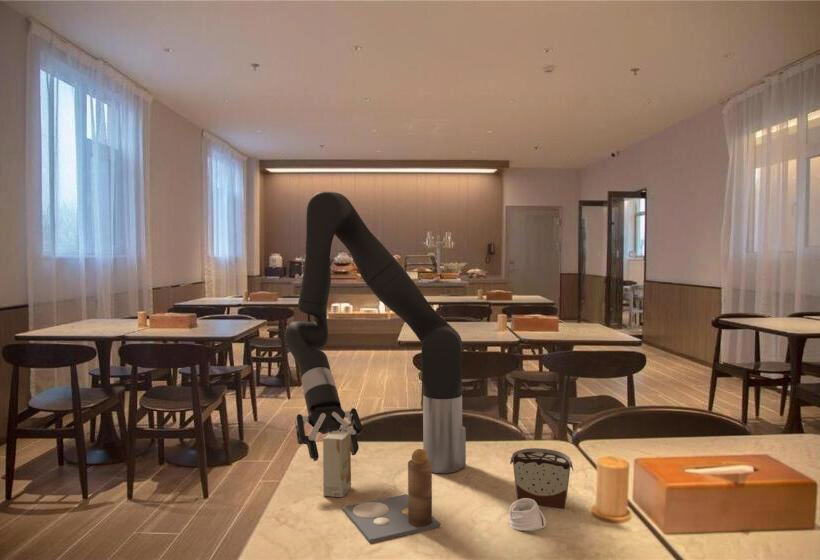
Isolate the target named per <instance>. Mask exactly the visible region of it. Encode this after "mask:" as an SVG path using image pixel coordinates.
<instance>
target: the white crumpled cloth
mask: <svg viewBox="0 0 820 560" xmlns="http://www.w3.org/2000/svg"><path fill="white" fill-rule="evenodd" d="M526 509H527V510H526ZM508 512H509V513H508V522H509V523H508V524H509V525H510V527H511V528H512V529H514V530H516V531H521V532H522V531H537V530H539V529H544V528H545V527H546V525H547V522H546V519H545V516H544V515H543V512H542V510H541V509H540V507H539V506H538V505H537V503H536V502H535V501H534V500H533V499H530V498H522V499H519V500H517V499H516V500H515V501H513V502H512V504H511V505H510V506H509V509H508Z"/></svg>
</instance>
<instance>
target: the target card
mask: <svg viewBox="0 0 820 560" xmlns="http://www.w3.org/2000/svg"><path fill="white" fill-rule="evenodd" d="M341 509H342V512H343V513H344V514H345V515H346V516H347V518H348V519H349V520H350V522H352V524H354V526H355V528H356V529H357V530H358V531H359V532H360V533H361V534H362V536H363V537H364V538H365V540H366V541H367V542H368V543H370V544H371V543H376V542H380V541H385V540H390V539H394V538H399V537H402V536H406V535H411V534H416V533H421V532H423V531H424V532H425V531H429V530H433V529H438V528H441V527H442V525H441V522H439V520H438V519H436V518H435V517H434V516H433V515H432V523H431V524H430V525H428V526H424V527H416V526H413V525H411V524H409V522H408V493H404V494H400V495H395V496H390V497H385V498H384V497H383V498H380V499H373V500H368V501H363V502H359V503H354V504H349V505H343V506H341Z"/></svg>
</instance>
